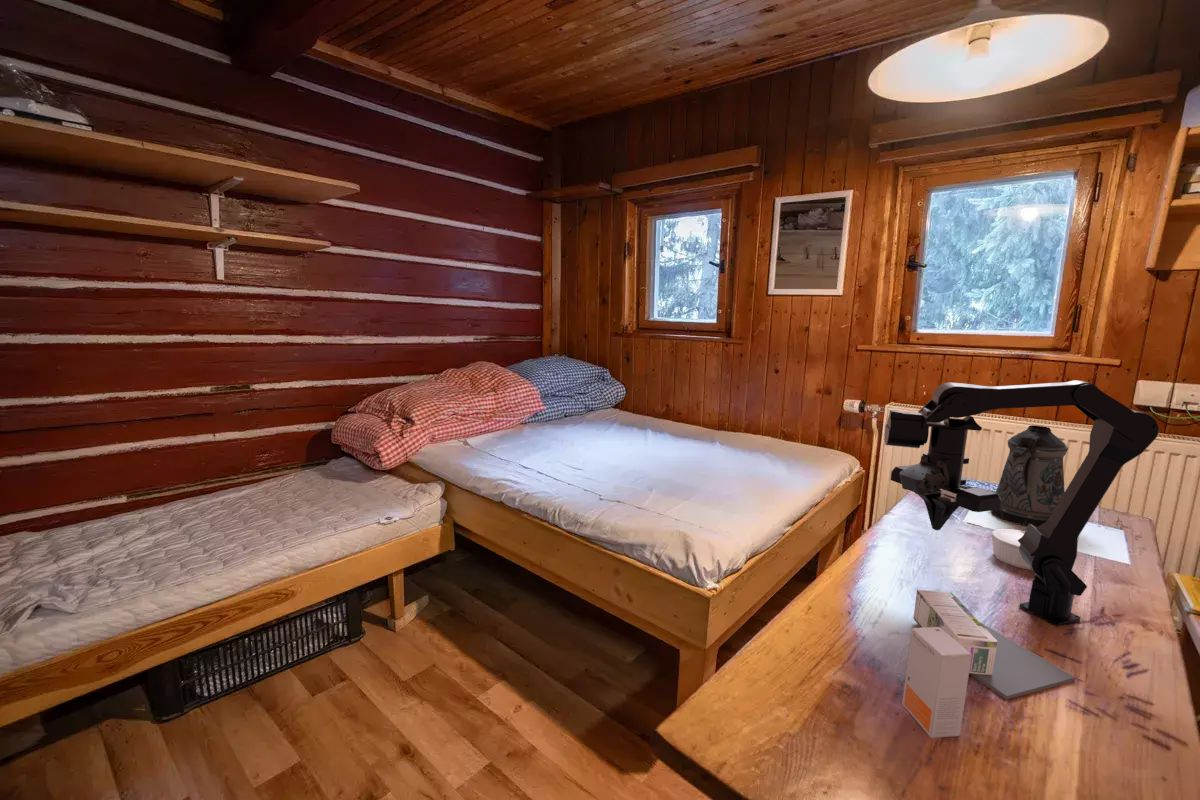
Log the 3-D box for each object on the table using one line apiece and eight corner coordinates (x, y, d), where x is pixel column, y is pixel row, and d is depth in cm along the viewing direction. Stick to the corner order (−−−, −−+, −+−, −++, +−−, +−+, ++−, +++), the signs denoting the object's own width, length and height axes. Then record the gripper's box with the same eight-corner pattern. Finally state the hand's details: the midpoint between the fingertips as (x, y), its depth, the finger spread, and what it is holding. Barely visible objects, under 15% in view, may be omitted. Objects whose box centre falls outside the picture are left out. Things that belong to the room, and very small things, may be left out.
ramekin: (1063, 566, 116) (1067, 544, 115) (1035, 577, 111) (1039, 553, 110) (1006, 546, 126) (1009, 525, 125) (978, 555, 121) (981, 533, 120)
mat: (972, 621, 95) (973, 618, 95) (1074, 680, 80) (1075, 677, 80) (911, 634, 91) (911, 631, 91) (1006, 699, 76) (1006, 695, 76)
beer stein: (1060, 514, 146) (1075, 425, 142) (1075, 539, 130) (1093, 439, 126) (986, 502, 155) (999, 417, 151) (992, 524, 139) (1006, 430, 135)
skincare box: (900, 705, 74) (910, 626, 72) (929, 703, 75) (939, 625, 73) (930, 739, 69) (942, 655, 66) (961, 738, 69) (974, 654, 67)
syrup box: (946, 621, 94) (995, 677, 80) (911, 618, 95) (953, 672, 80) (951, 591, 93) (1001, 642, 79) (915, 588, 94) (958, 638, 79)
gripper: (872, 441, 106) (865, 515, 109) (960, 468, 89) (948, 556, 91) (916, 438, 109) (908, 510, 112) (1009, 463, 92) (996, 548, 95)
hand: (936, 529), depth 102 cm, fingers closed
